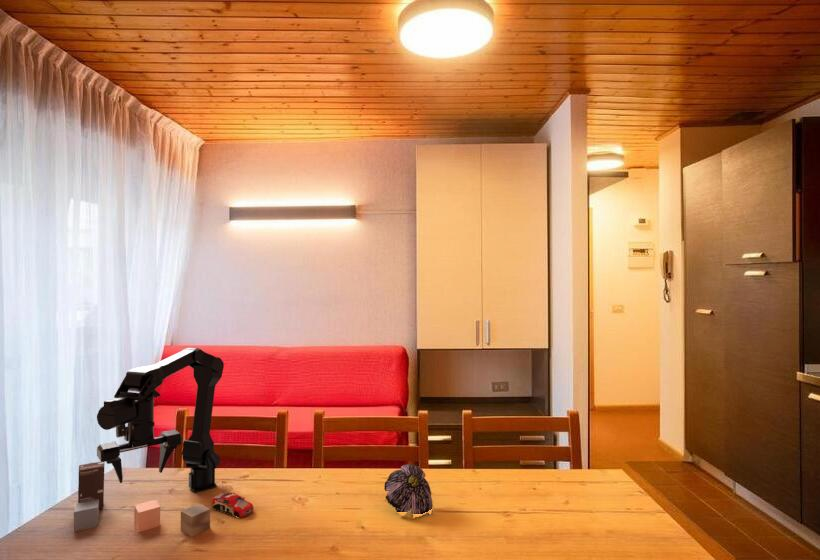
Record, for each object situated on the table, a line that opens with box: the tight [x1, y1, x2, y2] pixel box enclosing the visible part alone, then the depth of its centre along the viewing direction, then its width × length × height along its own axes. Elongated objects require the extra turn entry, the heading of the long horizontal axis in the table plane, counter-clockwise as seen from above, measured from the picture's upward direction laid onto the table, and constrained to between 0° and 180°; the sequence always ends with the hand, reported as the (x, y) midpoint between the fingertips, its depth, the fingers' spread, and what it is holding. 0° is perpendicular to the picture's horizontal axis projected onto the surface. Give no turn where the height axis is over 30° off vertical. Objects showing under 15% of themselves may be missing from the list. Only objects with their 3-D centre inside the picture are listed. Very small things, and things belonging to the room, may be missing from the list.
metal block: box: [180, 503, 211, 537], centre depth 121 cm, size 5×5×5 cm
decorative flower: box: [383, 463, 434, 515], centre depth 134 cm, size 15×12×15 cm
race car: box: [211, 492, 255, 518], centre depth 131 cm, size 13×5×4 cm, turn 60°
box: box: [77, 461, 106, 510], centre depth 131 cm, size 6×4×12 cm
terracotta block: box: [133, 499, 161, 533], centre depth 123 cm, size 5×5×5 cm
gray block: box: [73, 499, 100, 532], centre depth 123 cm, size 5×5×5 cm
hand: (141, 477), depth 123 cm, fingers open, 9 cm apart
